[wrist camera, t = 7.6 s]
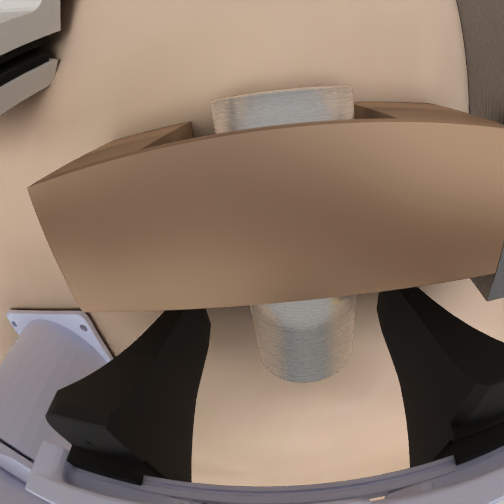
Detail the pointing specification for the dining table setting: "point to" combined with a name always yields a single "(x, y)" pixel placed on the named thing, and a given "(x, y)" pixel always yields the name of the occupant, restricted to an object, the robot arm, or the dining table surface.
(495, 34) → the v block
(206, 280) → the beam
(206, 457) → the dining table surface
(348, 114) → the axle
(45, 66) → the hinge
